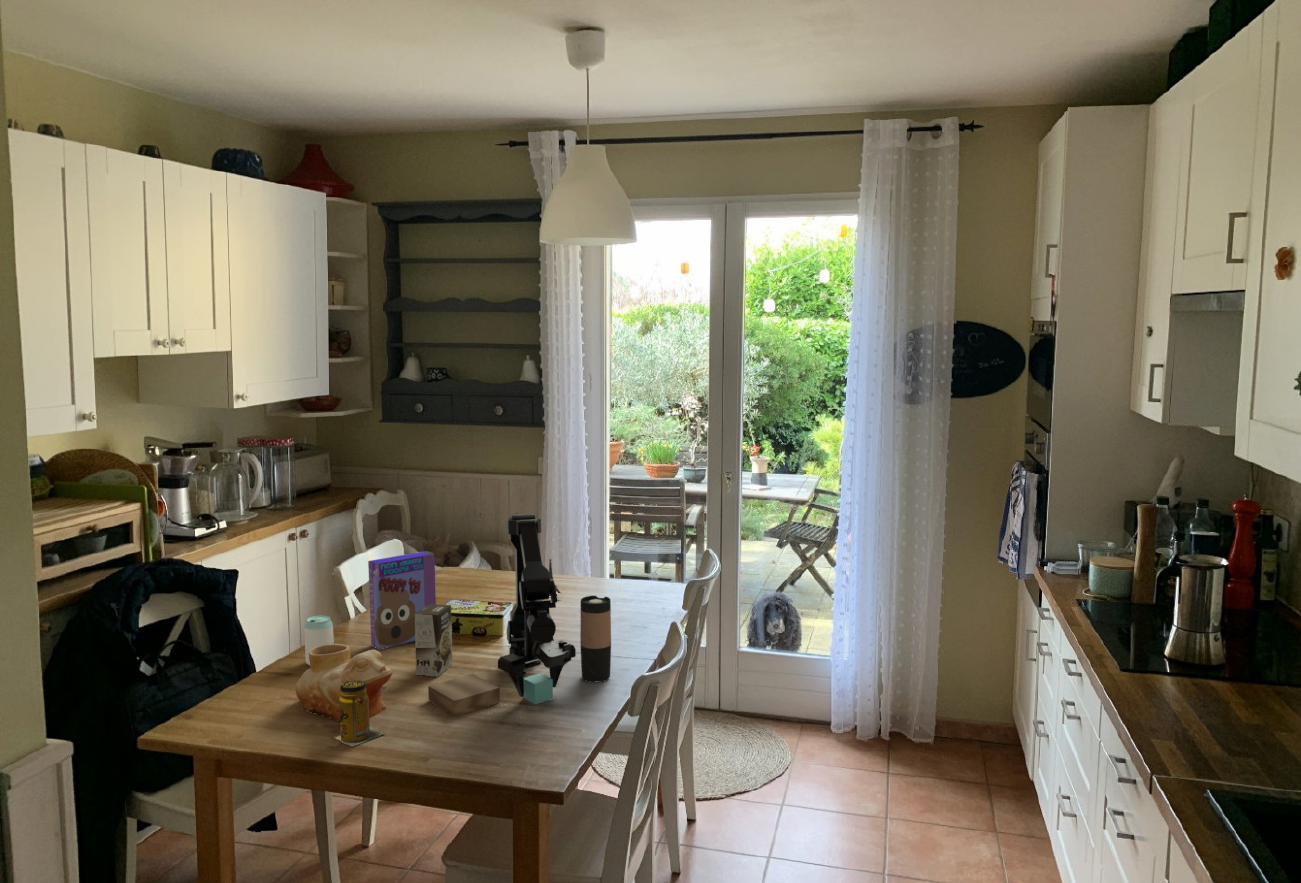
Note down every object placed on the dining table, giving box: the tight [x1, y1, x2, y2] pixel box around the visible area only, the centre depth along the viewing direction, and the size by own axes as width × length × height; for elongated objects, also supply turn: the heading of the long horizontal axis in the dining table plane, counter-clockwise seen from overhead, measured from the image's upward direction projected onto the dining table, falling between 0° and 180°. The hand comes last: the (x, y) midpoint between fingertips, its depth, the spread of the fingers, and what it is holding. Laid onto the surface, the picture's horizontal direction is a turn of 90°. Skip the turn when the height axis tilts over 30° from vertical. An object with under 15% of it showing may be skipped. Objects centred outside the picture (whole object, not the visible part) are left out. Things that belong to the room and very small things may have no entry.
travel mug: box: [579, 595, 612, 683], centre depth 245 cm, size 8×8×20 cm
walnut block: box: [427, 673, 501, 717], centre depth 231 cm, size 12×12×4 cm
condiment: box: [334, 680, 386, 747], centre depth 211 cm, size 7×8×12 cm
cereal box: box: [367, 550, 437, 650], centre depth 272 cm, size 17×5×24 cm, turn 131°
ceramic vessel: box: [294, 643, 394, 723], centre depth 225 cm, size 14×26×15 cm, turn 58°
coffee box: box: [414, 604, 453, 678], centre depth 250 cm, size 9×6×16 cm
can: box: [303, 615, 335, 666], centre depth 255 cm, size 7×7×12 cm
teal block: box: [522, 673, 554, 705], centre depth 232 cm, size 5×5×5 cm
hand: (537, 691), depth 232 cm, fingers open, 9 cm apart
